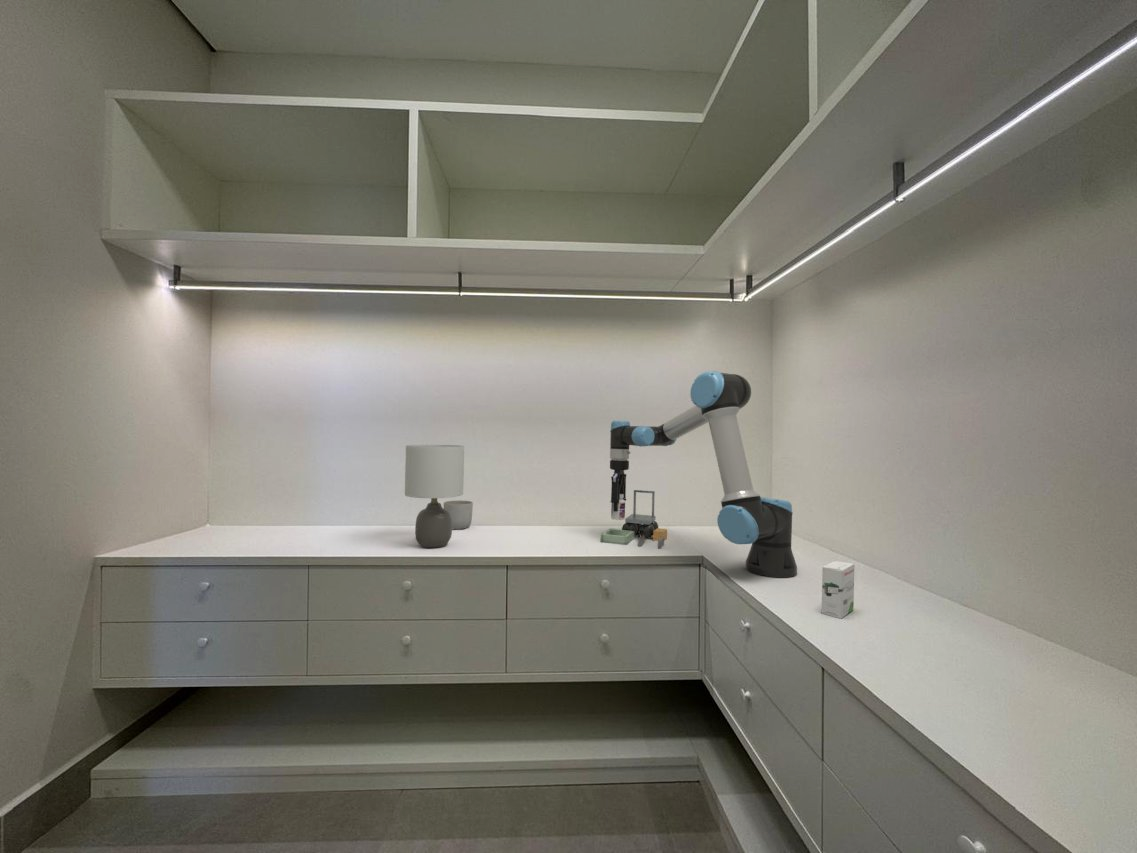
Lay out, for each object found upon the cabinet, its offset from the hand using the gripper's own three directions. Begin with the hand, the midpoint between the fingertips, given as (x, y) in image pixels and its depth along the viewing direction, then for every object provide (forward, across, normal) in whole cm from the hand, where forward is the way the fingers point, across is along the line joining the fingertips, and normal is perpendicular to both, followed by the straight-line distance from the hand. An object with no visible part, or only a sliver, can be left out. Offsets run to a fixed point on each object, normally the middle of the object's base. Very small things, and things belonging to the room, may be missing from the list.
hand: (618, 518), depth 198 cm
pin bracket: (+9, -3, -14) cm, 17 cm away
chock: (+9, +9, -15) cm, 20 cm away
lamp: (+9, -39, +59) cm, 71 cm away
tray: (+9, 0, 0) cm, 9 cm away
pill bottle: (+1, 0, 0) cm, 1 cm away
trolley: (+9, +13, -6) cm, 17 cm away
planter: (+9, -8, +69) cm, 70 cm away
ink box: (+9, -52, -71) cm, 89 cm away
